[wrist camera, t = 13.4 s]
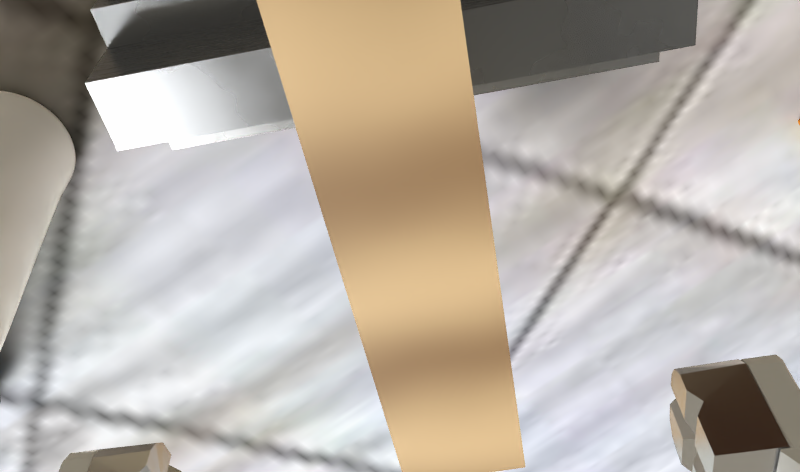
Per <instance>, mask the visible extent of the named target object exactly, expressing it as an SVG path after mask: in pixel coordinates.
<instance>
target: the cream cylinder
mask: <svg viewBox="0 0 800 472" xmlns="http://www.w3.org/2000/svg"><path fill="white" fill-rule="evenodd" d="M75 162H76V155H75V148H74V145H73V141H72V139H71V137H70V135H69V133H68V131H67V130H66V128H65V126H64V125H63V124H62V123H61V121H60V120H59V119H58V118H57V117H56V116H55V115H54V114H53V113H52V112H51V111H49V110H48V109H47V108H45V107H44V106H42V105H41V104H39V103H38V102H36V101H34V100H32V99H30V98H27V97H25V96H22V95H19V94H16V93H12V92H7V91H0V351H1V349H2V347H3V344H4V342H5V340H6V337H7V335H8V332H9V329H10V327H11V324H12V322H13V319H14V317H15V314H16V311H17V309H18V306H19V303H20V301H21V298H22V296H23V293H24V290H25V288H26V285H27V282H28V280H29V277H30V275H31V272H32V269H33V267H34V264H35V262H36V259H37V256H38V254H39V251H40V249H41V246H42V243H43V241H44V238H45V236H46V233H47V231H48V228H49V226H50V223H51V221H52V218H53V216H54V213H55V211H56V208H57V206H58V203H59V201H60V198H61V196H62V195H63V193H64V191H65V189H66V187H67V186H68V184H69V182H70V180H71V178H72V175H73V172H74V169H75Z"/></svg>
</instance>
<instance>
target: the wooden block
mask: <svg viewBox="0 0 800 472" xmlns="http://www.w3.org/2000/svg"><path fill="white" fill-rule="evenodd" d="M256 1H257V4H258V7H259V10H260V14H261V17H262V20H263V23H264V27H265V30H266V33H267V36H268V39H269V43H270V46H271V49H272V52H273V56H274V59H275V62H276V65H277V69H278V72H279V75H280V78H281V82H282V85H283V88H284V91H285V94H286V98H287V101H288V104H289V107H290V111H291V114H292V117H293V120H294V124H295V127H296V130H297V133H298V136H299V140H300V143H301V146H302V149H303V153H304V156H305V159H306V162H307V166H308V169H309V172H310V175H311V179H312V182H313V185H314V188H315V191H316V195H317V198H318V201H319V204H320V208H321V211H322V214H323V217H324V221H325V224H326V227H327V230H328V234H329V237H330V240H331V243H332V246H333V250H334V253H335V256H336V259H337V263H338V266H339V269H340V272H341V276H342V279H343V282H344V285H345V289H346V292H347V295H348V298H349V301H350V305H351V308H352V311H353V314H354V318H355V321H356V324H357V327H358V331H359V334H360V337H361V340H362V344H363V347H364V350H365V353H366V356H367V360H368V363H369V366H370V369H371V373H372V376H373V379H374V382H375V386H376V389H377V392H378V395H379V398H380V402H381V405H382V408H383V411H384V415H385V418H386V421H387V424H388V428H389V431H390V434H391V437H392V441H393V444H394V447H395V450H396V453H397V457H398V460H399V463H400V466H401V470H402V472H495V471H502V470H509V469H516V468H523V467H525V461H524V454H523V447H522V440H521V433H520V425H519V418H518V411H517V404H516V397H515V389H514V382H513V375H512V368H511V361H510V354H509V346H508V339H507V332H506V325H505V318H504V310H503V303H502V296H501V289H500V282H499V275H498V267H497V260H496V253H495V246H494V239H493V231H492V224H491V217H490V210H489V203H488V196H487V188H486V181H485V174H484V167H483V160H482V152H481V145H480V138H479V131H478V124H477V117H476V109H475V102H474V95H473V88H472V81H471V73H470V66H469V59H468V52H467V45H466V37H465V30H464V23H463V16H462V9H461V2H460V0H256Z"/></svg>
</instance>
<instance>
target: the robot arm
mask: <svg viewBox="0 0 800 472" xmlns="http://www.w3.org/2000/svg"><path fill="white" fill-rule="evenodd" d="M671 387H672V389H673V392H674V394H675V397H676V399H675V400H674V401H673V402H672V403H671V404H670V423H671V430H672V436H673V440H674V444H675V447H676V450H677V453H678V456H679V459H680V462H681V464H682V465H683V466H684V467H686V468H687V469H689V470H690V471H691V472H800V389H799V387H798V386H797V384H796V382H795V381H794V379H793V377H792V375H791V374H790V372H789V370H788V369H787V367H786V365H785V363H784V362H783V360H782V359H781V358H780V357H778V356H777V355H769V356H762V357H755V358H748V359H742V360H739V359H736V360H730V361H723V362H717V363H710V364H704V365H697V366H691V367H684V368H678V369H674V371H673V373H672V377H671ZM170 458H171V454H170V452H169V451H168V449H167V448H166V446H165V445H164V443H153V444H144V445H135V446H126V447H117V448H109V449H100V450H93V451H85V452H77V453H70V454H69V455H68V457H67V458H66V459H65V460H64V461H63V462H62V464H61V467H60V469H59V472H181V471H180V470H178V469H176V468H174V467H172V466H170V465H169V462H170Z"/></svg>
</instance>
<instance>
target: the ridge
mask: <svg viewBox="0 0 800 472" xmlns="http://www.w3.org/2000/svg"><path fill="white" fill-rule="evenodd" d="M460 2H461V9H462V16H463V23H464V30H465V37H466V45H467V52H468V59H469V66H470V73H471V81H472V88H473V95H478V94H484V93H489V92H495V91H500V90H505V89H511V88H516V87H522V86H527V85H533V84H538V83H544V82H549V81H555V80H560V79H566V78H571V77H577V76H582V75H588V74H593V73H599V72H604V71H610V70H615V69H621V68H626V67H632V66H637V65H643V64H648V63H654V62H659V52H661V51H667V50H672V49H678V48H683V47H689V46H694V45H695V43H696V26H697V9H698V0H460ZM90 10H91V13H92V15H93V17H94V19H95V22H96V24H97V26H98V28H99V30H100V33H101V35H102V37H103V39H104V42H105V44H106V46H107V50H106V51H105V53H104V54H103V56H102V57H101V59H100V60H99V62H98V64H97V65H96V67H95V68H94V70H93V71H92V73H91V74H90V76H89V77H88V79H87V81H86V82H85V85H86V87H87V89H88V91H89V93H90V95H91V97H92V99H93V101H94V103H95V105H96V107H97V109H98V111H99V113H100V116H101V118H102V120H103V122H104V124H105V126H106V128H107V130H108V132H109V134H110V136H111V138H112V140H113V142H114V144H115V146H116V149H117V151H121V150H127V149H132V148H137V147H143V146H148V145H154V144H159V143H165V142H169V143H170V146H171V148H172V150H176V149H182V148H187V147H193V146H198V145H204V144H209V143H215V142H220V141H226V140H231V139H237V138H242V137H248V136H253V135H259V134H264V133H269V132H275V131H280V130H286V129H291V128H296V127H295V124H294V120H293V117H292V114H291V111H290V107H289V104H288V101H287V98H286V94H285V91H284V88H283V85H282V82H281V78H280V75H279V72H278V69H277V65H276V62H275V59H274V56H273V52H272V49H271V46H270V43H269V39H268V36H267V33H266V30H265V27H264V23H263V20H262V17H261V14H260V10H259V7H258V4H257V1H256V0H97V1H96V3H95V4H94V5H93V7H92V8H91V9H90Z"/></svg>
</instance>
